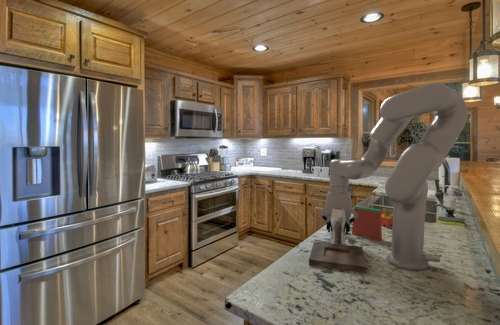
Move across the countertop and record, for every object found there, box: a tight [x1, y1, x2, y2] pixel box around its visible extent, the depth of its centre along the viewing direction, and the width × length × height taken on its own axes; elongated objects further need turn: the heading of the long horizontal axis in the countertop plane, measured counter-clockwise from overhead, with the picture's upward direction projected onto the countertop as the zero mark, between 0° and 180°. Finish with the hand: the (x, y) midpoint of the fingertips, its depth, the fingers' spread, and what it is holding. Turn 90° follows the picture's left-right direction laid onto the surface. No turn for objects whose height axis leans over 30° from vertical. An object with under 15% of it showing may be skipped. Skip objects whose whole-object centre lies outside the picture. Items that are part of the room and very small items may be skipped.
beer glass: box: [329, 208, 347, 245], centre depth 114 cm, size 7×7×15 cm
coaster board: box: [308, 241, 367, 274], centre depth 99 cm, size 18×18×2 cm
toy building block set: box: [351, 205, 393, 241], centre depth 134 cm, size 12×35×14 cm, turn 135°
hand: (337, 232), depth 114 cm, fingers closed on beer glass, 6 cm apart
